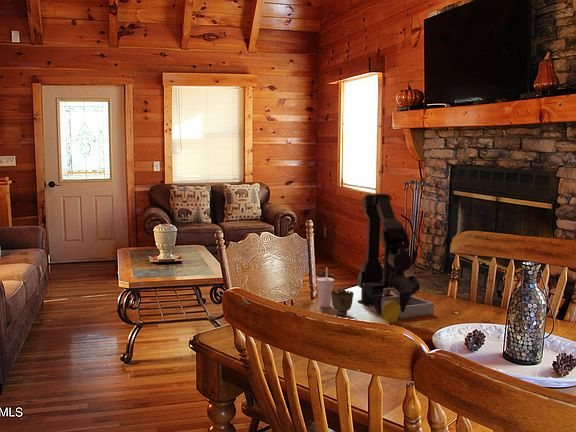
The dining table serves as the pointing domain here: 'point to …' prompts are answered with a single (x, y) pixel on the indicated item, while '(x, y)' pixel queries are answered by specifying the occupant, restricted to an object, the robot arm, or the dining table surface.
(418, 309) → the bin
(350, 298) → the cup
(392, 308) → the lemon
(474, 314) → the dining table surface
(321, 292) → the smoothie
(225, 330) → the dining table surface
